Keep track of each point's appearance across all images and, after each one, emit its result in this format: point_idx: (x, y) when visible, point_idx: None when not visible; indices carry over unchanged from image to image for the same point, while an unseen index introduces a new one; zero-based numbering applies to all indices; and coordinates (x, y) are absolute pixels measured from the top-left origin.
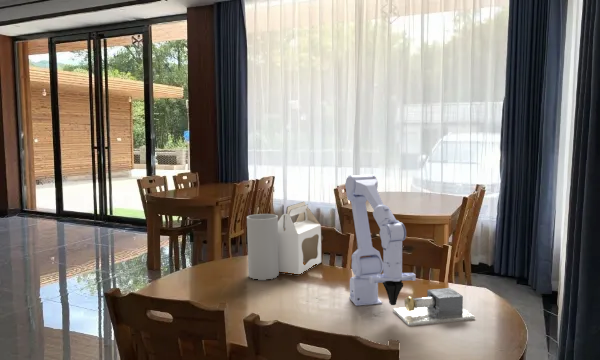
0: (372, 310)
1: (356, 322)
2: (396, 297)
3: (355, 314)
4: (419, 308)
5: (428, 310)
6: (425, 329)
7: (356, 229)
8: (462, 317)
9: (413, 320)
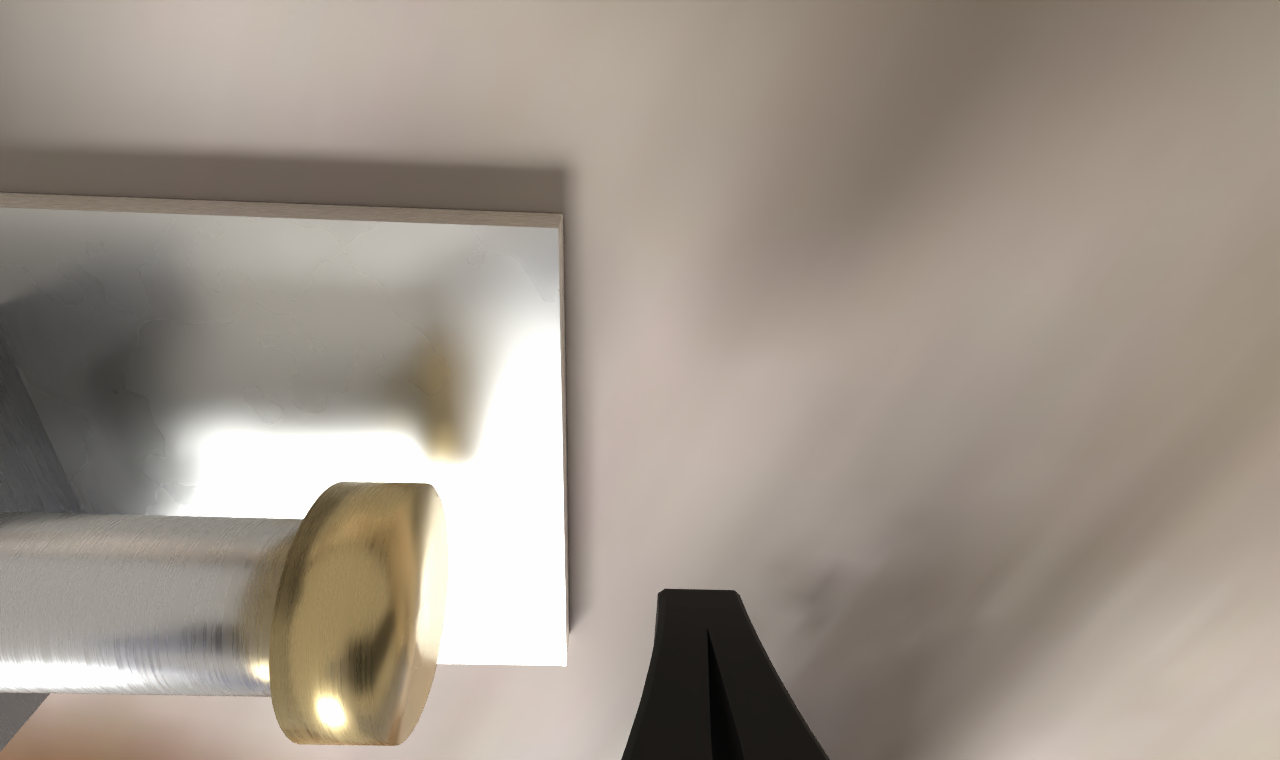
0: None
1: (1147, 483)
2: (668, 708)
3: (1006, 651)
4: None
5: None
6: (332, 5)
7: None
8: None
9: (444, 289)
